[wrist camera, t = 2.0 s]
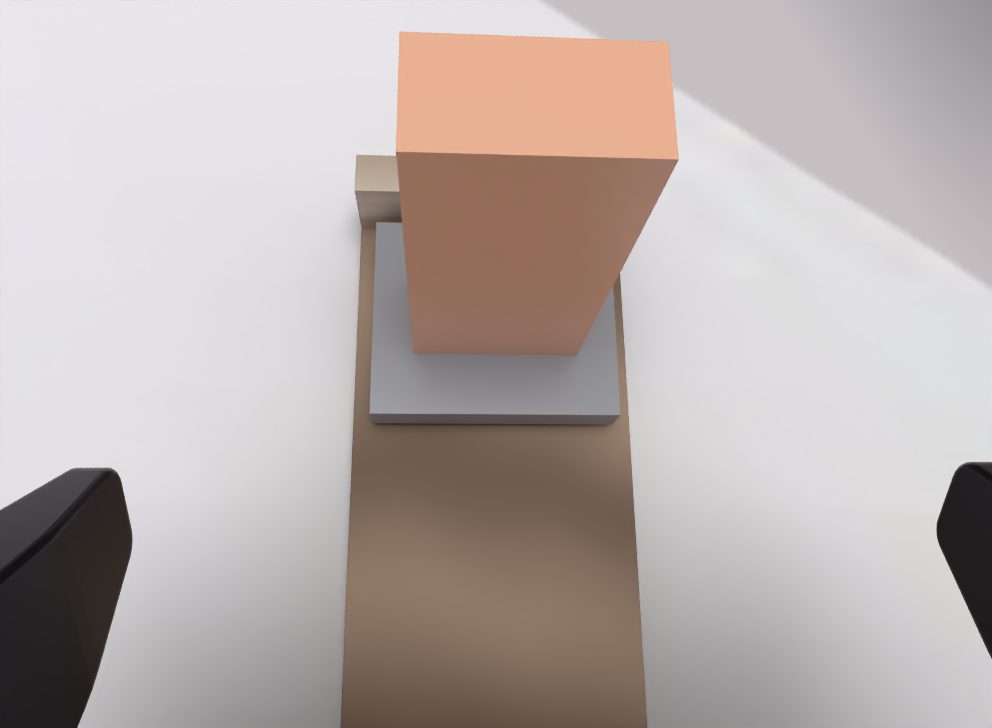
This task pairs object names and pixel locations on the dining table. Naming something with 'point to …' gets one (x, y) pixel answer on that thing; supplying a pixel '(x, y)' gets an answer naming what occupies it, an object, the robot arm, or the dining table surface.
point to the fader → (515, 225)
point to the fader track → (486, 556)
